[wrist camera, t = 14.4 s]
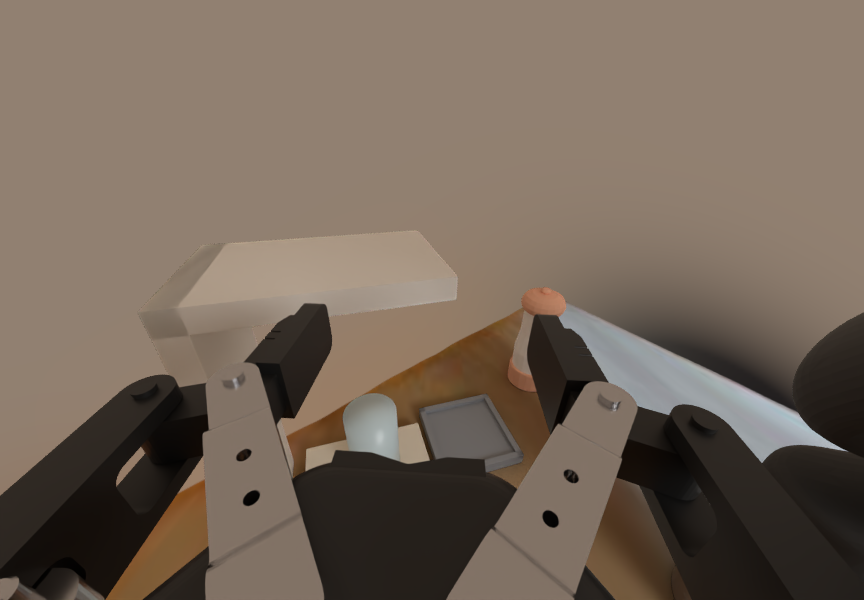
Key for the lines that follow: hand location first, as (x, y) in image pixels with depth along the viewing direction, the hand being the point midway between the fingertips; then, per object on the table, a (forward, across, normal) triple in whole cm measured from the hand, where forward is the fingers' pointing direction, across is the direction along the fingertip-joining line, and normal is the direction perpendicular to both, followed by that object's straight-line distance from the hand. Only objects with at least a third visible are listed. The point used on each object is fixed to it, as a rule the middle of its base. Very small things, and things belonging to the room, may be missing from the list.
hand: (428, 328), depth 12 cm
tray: (+22, -5, +35) cm, 42 cm away
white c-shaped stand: (+14, +9, +35) cm, 39 cm away
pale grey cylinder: (+15, +7, +33) cm, 37 cm away
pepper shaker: (+36, -17, +35) cm, 53 cm away
